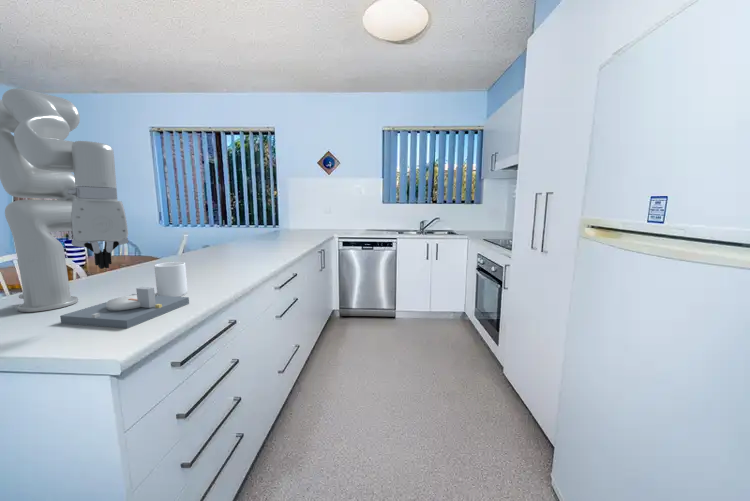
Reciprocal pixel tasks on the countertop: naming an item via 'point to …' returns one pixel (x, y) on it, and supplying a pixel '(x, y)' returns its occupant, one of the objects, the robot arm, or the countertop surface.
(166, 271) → the mug
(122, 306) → the dial
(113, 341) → the countertop surface
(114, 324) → the panel
